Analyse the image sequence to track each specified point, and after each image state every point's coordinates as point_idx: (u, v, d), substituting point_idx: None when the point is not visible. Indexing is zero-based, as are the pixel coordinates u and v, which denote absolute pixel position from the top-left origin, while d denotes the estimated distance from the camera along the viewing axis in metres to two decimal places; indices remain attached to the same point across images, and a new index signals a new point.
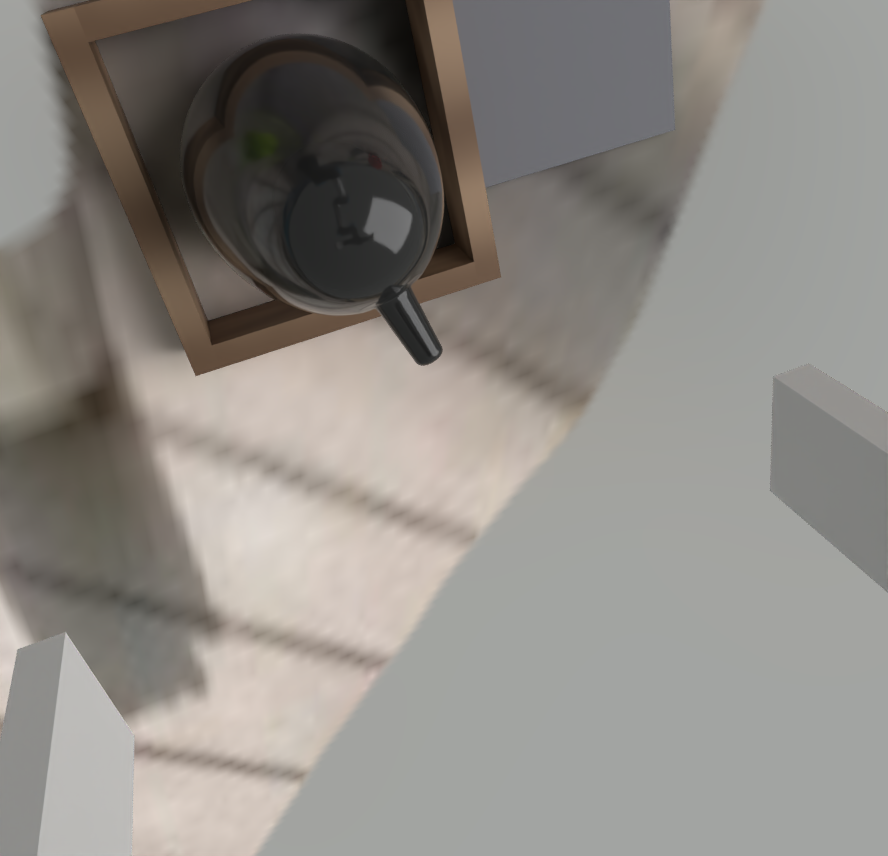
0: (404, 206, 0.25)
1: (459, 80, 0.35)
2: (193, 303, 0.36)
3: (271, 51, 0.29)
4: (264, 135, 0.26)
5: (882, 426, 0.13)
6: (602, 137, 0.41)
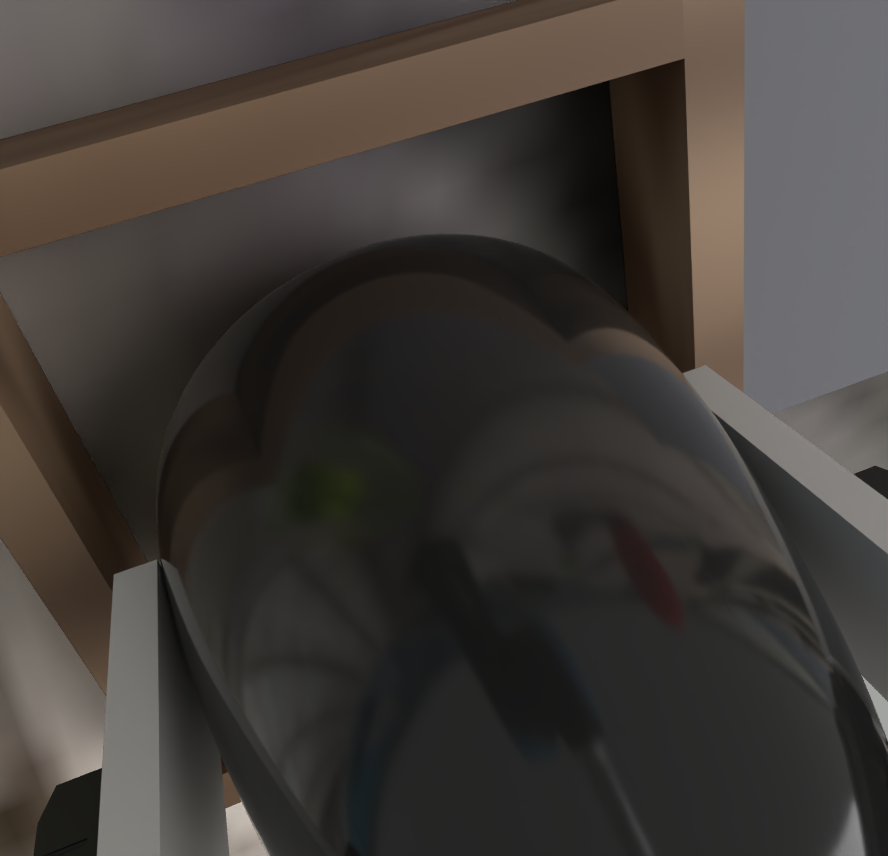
0: None
1: (730, 292, 0.17)
2: None
3: (386, 323, 0.11)
4: (415, 717, 0.08)
5: (761, 425, 0.14)
6: None
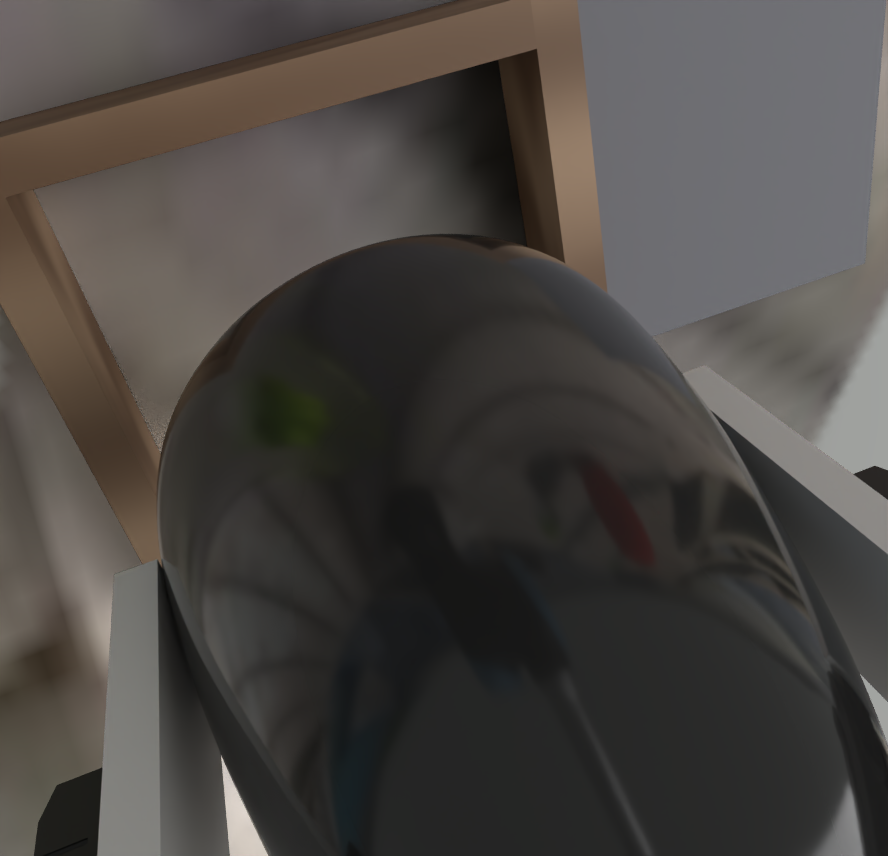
0: None
1: (590, 225, 0.23)
2: None
3: (385, 323, 0.11)
4: (414, 713, 0.08)
5: (761, 425, 0.14)
6: (767, 278, 0.29)
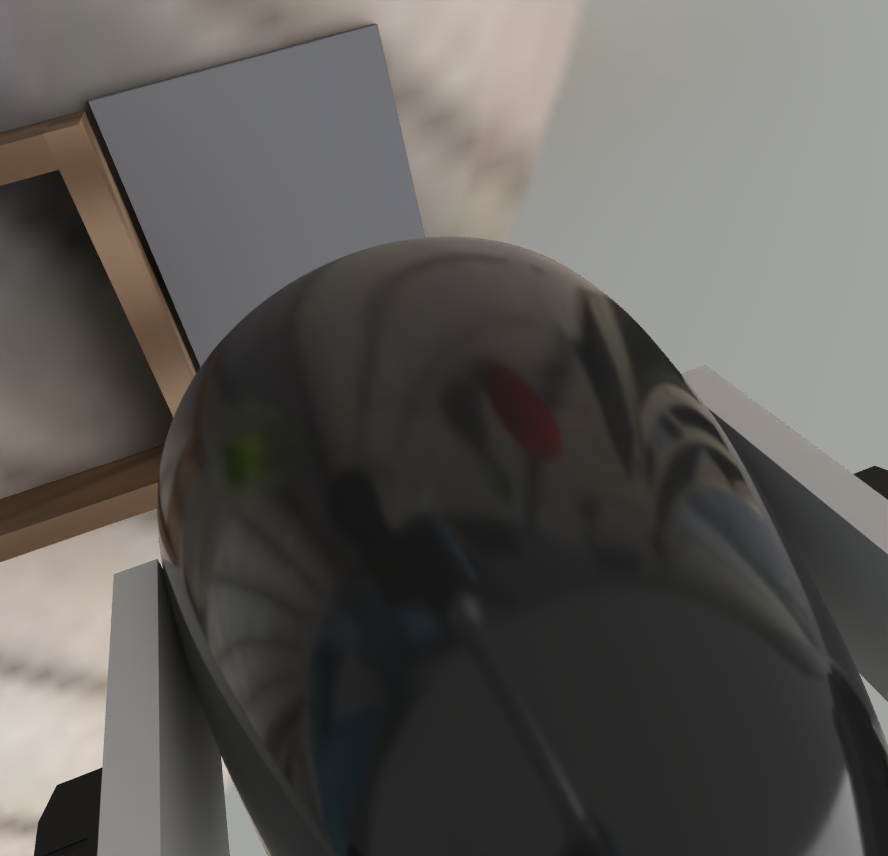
0: None
1: (141, 290, 0.31)
2: None
3: (387, 326, 0.11)
4: (416, 718, 0.08)
5: (761, 425, 0.14)
6: None
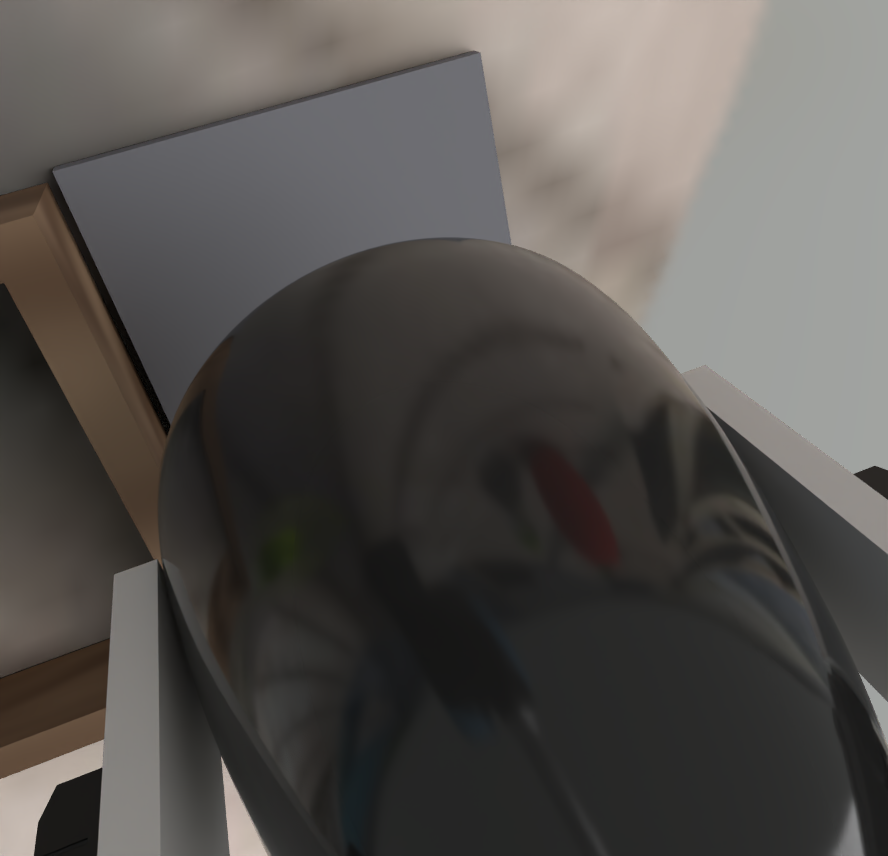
0: None
1: (133, 445, 0.21)
2: None
3: (387, 327, 0.11)
4: (416, 719, 0.08)
5: (761, 425, 0.14)
6: None
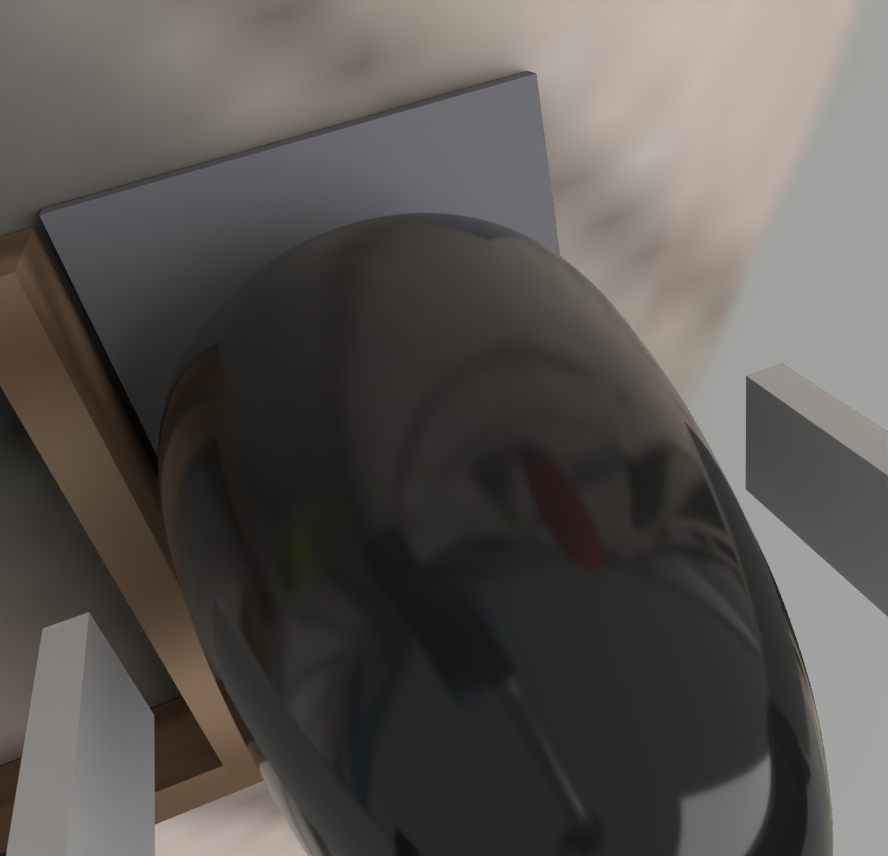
0: None
1: (134, 530, 0.18)
2: None
3: (364, 291, 0.13)
4: (378, 624, 0.09)
5: (850, 425, 0.13)
6: None
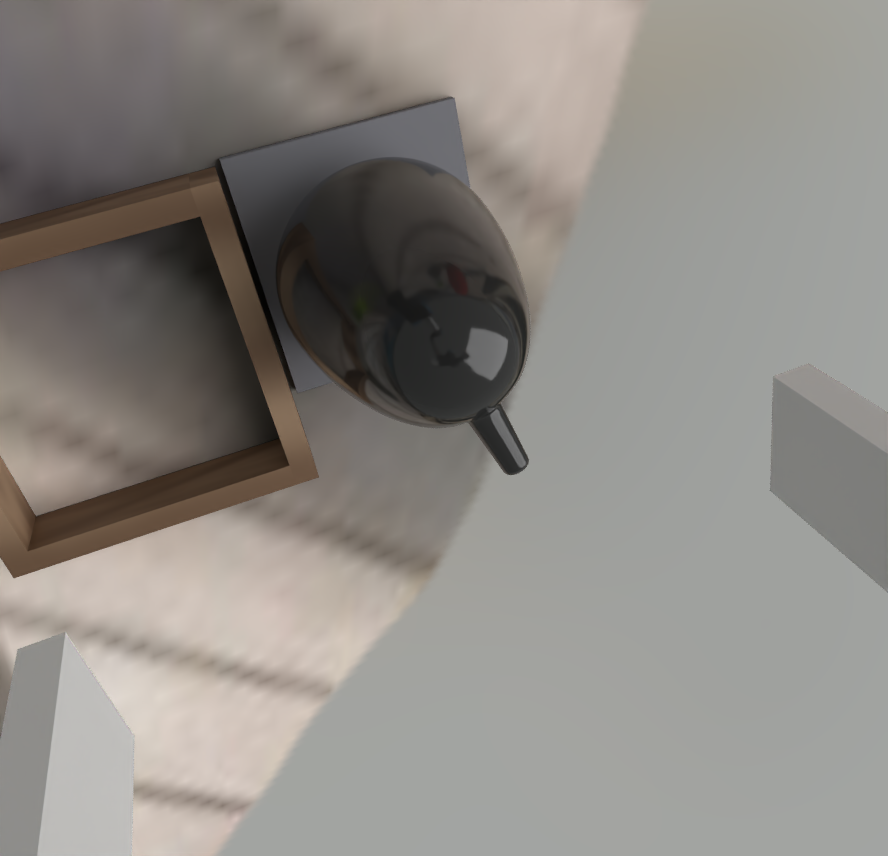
0: (504, 340, 0.27)
1: (256, 314, 0.37)
2: (5, 516, 0.38)
3: (370, 180, 0.32)
4: (374, 270, 0.28)
5: (882, 426, 0.13)
6: None
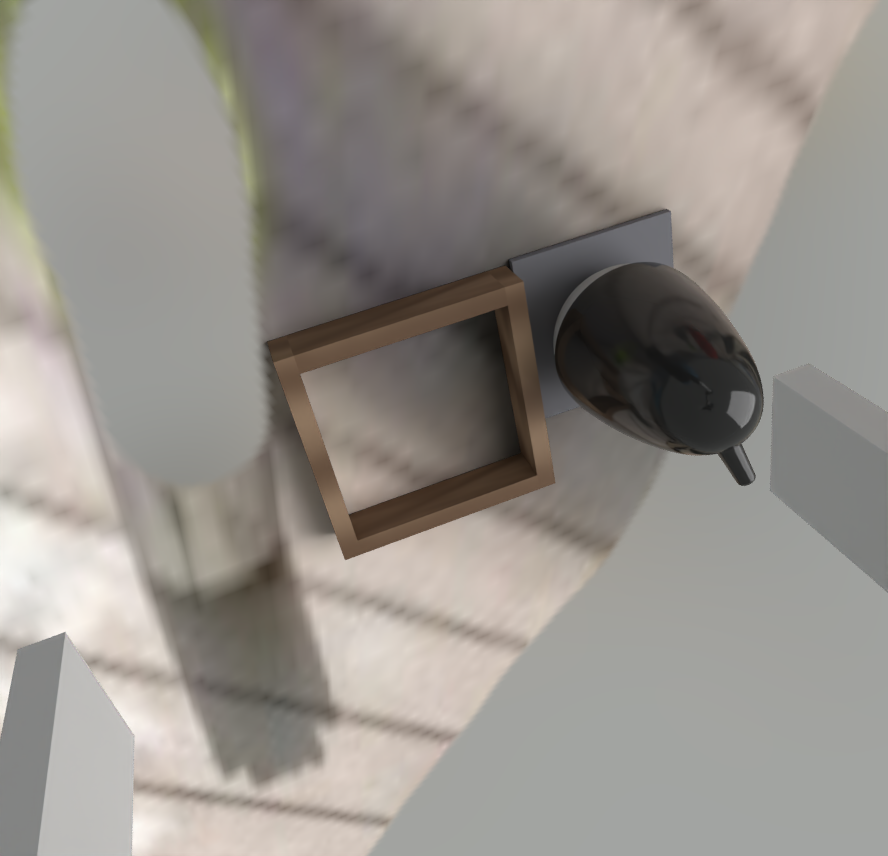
0: (758, 400, 0.42)
1: (532, 369, 0.52)
2: (348, 516, 0.53)
3: (640, 285, 0.46)
4: (666, 354, 0.43)
5: (882, 426, 0.13)
6: None
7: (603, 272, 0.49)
